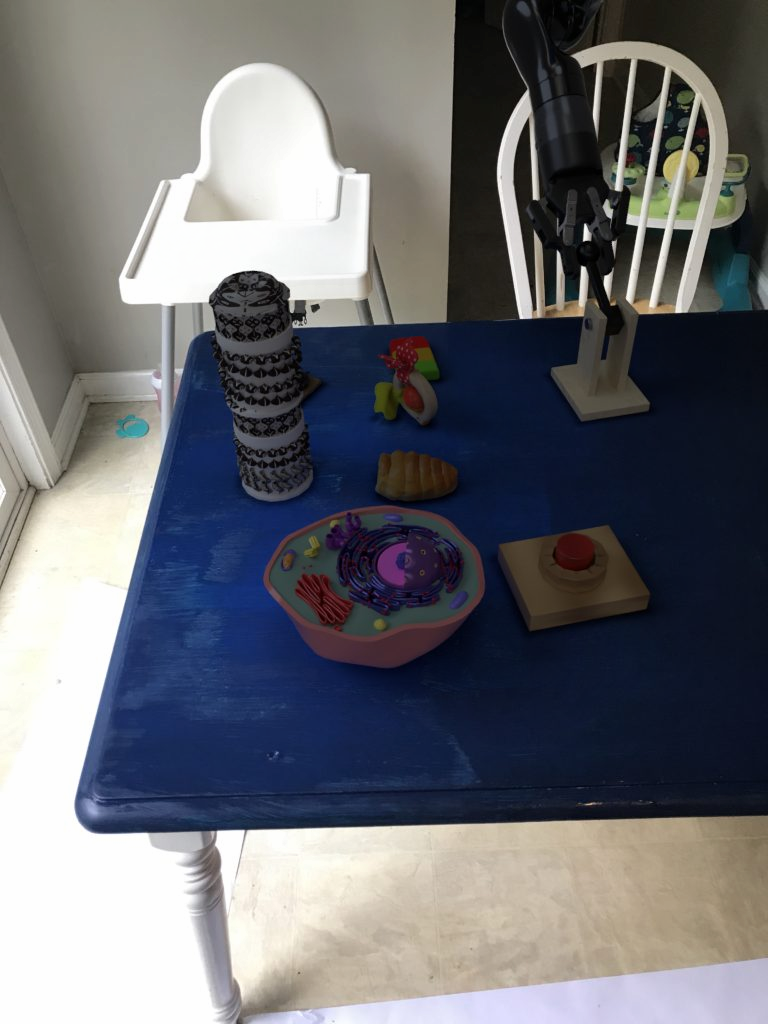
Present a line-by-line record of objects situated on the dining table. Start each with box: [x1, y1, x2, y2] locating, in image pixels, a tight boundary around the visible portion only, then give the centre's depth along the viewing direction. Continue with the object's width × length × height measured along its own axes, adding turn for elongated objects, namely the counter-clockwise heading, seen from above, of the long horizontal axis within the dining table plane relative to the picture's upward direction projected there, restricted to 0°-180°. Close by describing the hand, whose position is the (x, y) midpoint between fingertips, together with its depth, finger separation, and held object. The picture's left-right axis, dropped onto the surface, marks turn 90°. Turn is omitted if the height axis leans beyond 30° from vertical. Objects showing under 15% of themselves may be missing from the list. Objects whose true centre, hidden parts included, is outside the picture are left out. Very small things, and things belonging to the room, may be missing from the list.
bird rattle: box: [373, 338, 439, 427], centre depth 103 cm, size 6×11×9 cm
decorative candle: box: [208, 270, 314, 503], centre depth 90 cm, size 9×9×25 cm
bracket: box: [550, 296, 651, 422], centre depth 104 cm, size 11×9×12 cm
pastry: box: [374, 449, 459, 502], centre depth 95 cm, size 9×7×4 cm
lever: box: [575, 240, 625, 338], centre depth 103 cm, size 13×3×3 cm, turn 12°
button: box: [555, 533, 595, 571], centre depth 81 cm, size 4×4×2 cm
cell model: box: [262, 505, 486, 669], centre depth 77 cm, size 17×20×11 cm
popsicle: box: [388, 335, 440, 382], centre depth 112 cm, size 6×15×2 cm, turn 9°
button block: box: [497, 524, 651, 632], centre depth 83 cm, size 12×10×4 cm
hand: (591, 275), depth 105 cm, fingers open, 3 cm apart
